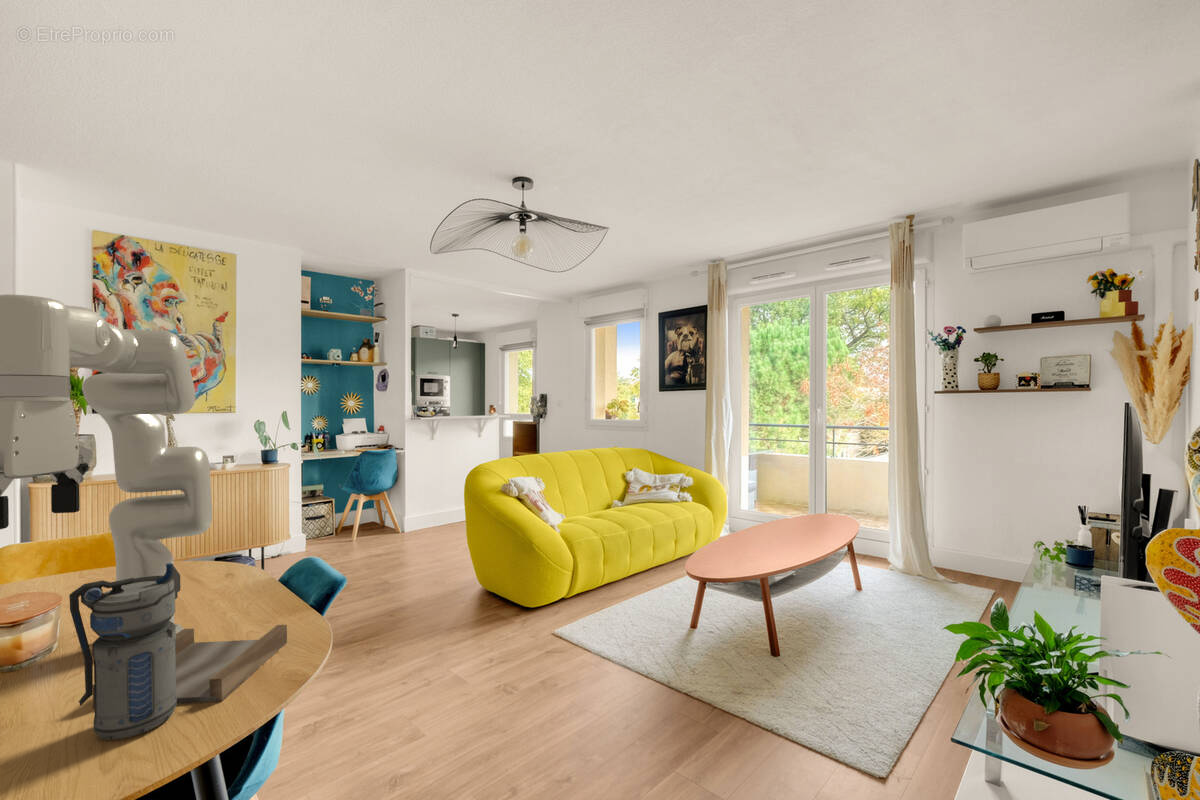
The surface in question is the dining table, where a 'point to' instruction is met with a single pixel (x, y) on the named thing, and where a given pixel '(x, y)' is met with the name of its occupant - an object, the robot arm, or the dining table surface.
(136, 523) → the robot arm
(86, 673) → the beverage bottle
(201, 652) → the u rest
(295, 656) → the dining table surface
